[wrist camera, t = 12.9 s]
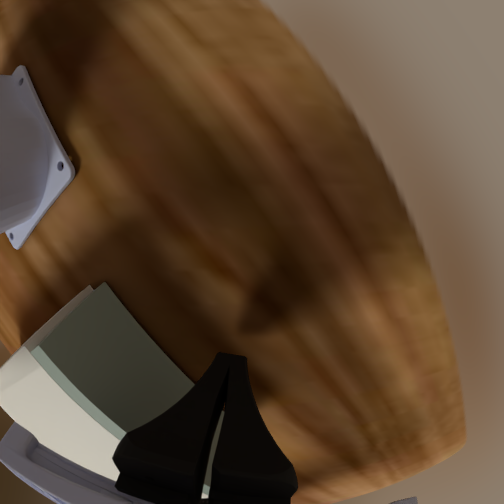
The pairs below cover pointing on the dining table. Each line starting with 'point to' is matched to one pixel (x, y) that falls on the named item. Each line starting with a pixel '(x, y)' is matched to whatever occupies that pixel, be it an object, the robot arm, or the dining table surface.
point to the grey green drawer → (114, 367)
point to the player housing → (55, 406)
